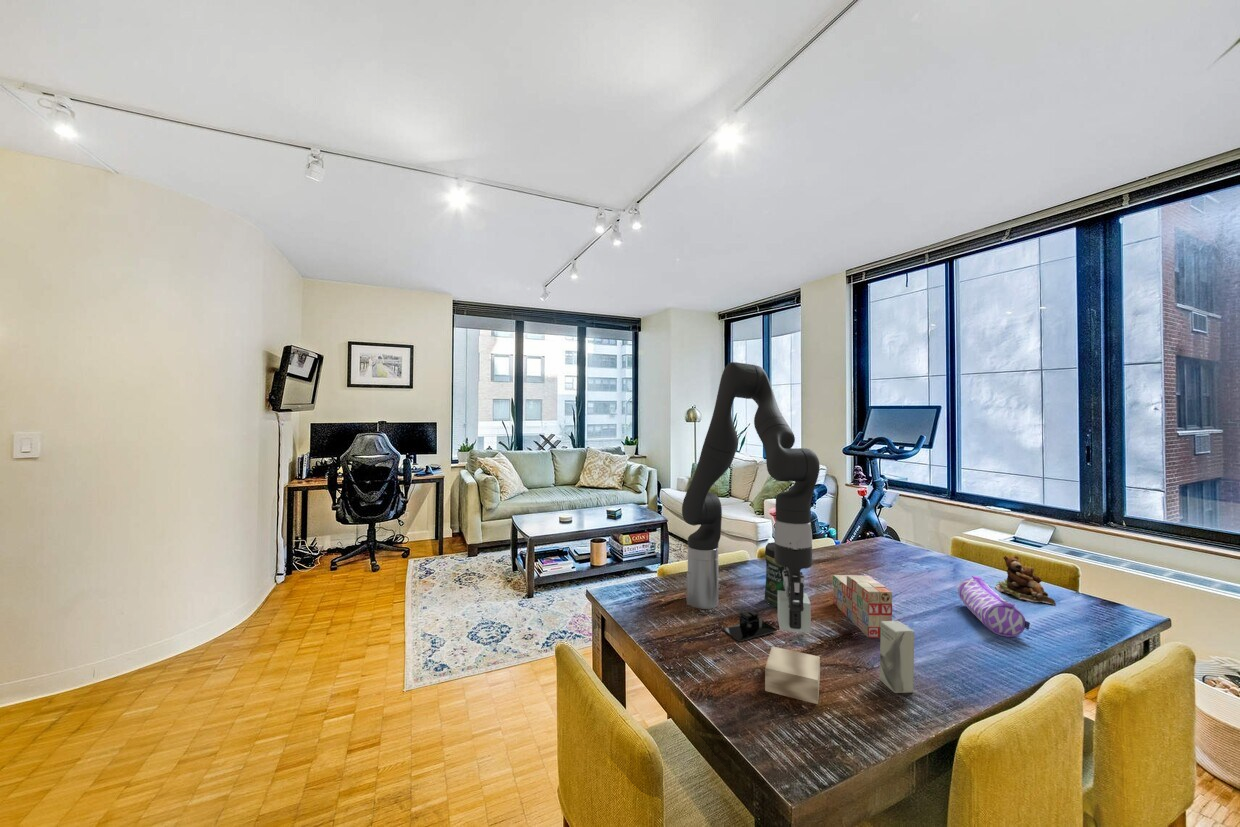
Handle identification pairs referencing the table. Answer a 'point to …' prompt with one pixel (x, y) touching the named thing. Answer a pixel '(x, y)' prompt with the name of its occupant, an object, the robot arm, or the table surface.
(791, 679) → the oak block
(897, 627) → the box
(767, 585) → the coffee jar
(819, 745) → the table surface
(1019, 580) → the bear figurine
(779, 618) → the sage cube
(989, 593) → the pencil case
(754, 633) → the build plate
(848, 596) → the stack of blocks
